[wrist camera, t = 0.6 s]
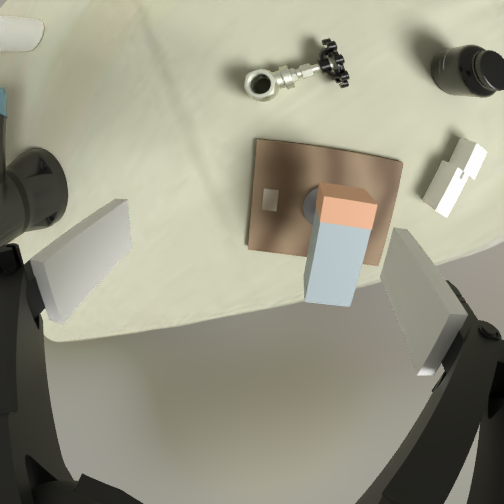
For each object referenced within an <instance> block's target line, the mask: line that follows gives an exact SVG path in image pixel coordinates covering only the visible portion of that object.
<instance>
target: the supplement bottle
mask: <svg viewBox="0 0 504 504" xmlns="http://www.w3.org/2000/svg"><path fill="white" fill-rule="evenodd" d="M431 70H432V75H433V78H434V80H435V82H436V83H437V85H438V86H439V87H440V88H441V89H442V90H443V91H445V92H446V93H448V94H451V95H458V96H471V97H489V96H491V95H493V94H494V93H495V92H496V91H501V90H504V59H503V58H502V56H501V55H499V54H498V53H496V52H494V51H490V50H485V49H483V48H482V47H480V46H477V45H466V46H461V47H456V48H452V49H448V50H444V51H441V52H439V53H437V54H436V55H435V56H434V58H433V60H432V64H431Z"/></svg>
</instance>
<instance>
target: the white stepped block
mask: <svg viewBox="0 0 504 504" xmlns="http://www.w3.org/2000/svg"><path fill="white" fill-rule="evenodd" d="M486 154H487V151H485V150H484V149H483V148H482V147H481V146H480V145H478V144H477V143H475V142H472V141H469V140H465V139H462V138H460V139H459V141H458V143H457V145H456V148H455V150H454V152H453V154H452V156H451V158H450V160H449V162H446V161H444V160H442V162H441V164H440V166H439V168H438V170H437V172H436V174H435V176H434V178H433V180H432V182H431V184H430V186H429V187H428V189H427V191H426V193H425V195H424V197H423V199H422V200H423V201H425V202H426V203H427V204H428V205H429V206H430V207H432V208H433V209H434V210H435V211H437V212H438V213H440V214H441V215H443V216H444V217H446V218H447V217H448V215H449V213H450V211H451V210H452V208H453V206H454V204H455V202H456V200H457V198H458V197H459V195H460V193H461V191H462V189H463V187H464V185H465V183H466V181H467V179H468V177H470V178H472V179H474V180H475V177H476V175H477V173H478V171H479V169H480V167H481V165H482V163H483V161H484V158H485V156H486Z"/></svg>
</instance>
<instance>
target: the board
mask: <svg viewBox="0 0 504 504" xmlns="http://www.w3.org/2000/svg"><path fill="white" fill-rule="evenodd" d="M402 168H403V163H402V162H401V161H397V160H392V159H387V158H383V157H378V156H373V155H368V154H363V153H357V152H352V151H346V150H340V149H334V148H328V147H321V146H314V145H307V144H300V143H292V142H284V141H275V140H265V139H257V145H256V157H255V169H254V181H253V193H252V205H251V217H250V229H249V242H248V250H256V251H264V252H272V253H280V254H288V255H296V256H304V257H307V256H308V250H309V244H310V239H311V233H312V227H313V221H314V215H315V209H316V199H317V193H318V186H319V182H324V183H330V184H337V185H343V186H349V187H355V188H361V189H365V190H366V191H367V192H368V193H369V195H370V196H371V197H372V198H373V200H374V201H375V202H376V203H377V210H376V214H375V219H374V223H373V227H372V230H371V232H370V236H369V240H368V244H367V248H366V252H365V256H364V260H363V263H362V264H367V265H374V266H379V262H380V259H381V255H382V252H383V248H384V245H385V241H386V237H387V234H388V230H389V226H390V222H391V218H392V214H393V210H394V206H395V201H396V197H397V192H398V188H399V183H400V178H401V173H402Z"/></svg>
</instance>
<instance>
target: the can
mask: <svg viewBox="0 0 504 504" xmlns="http://www.w3.org/2000/svg"><path fill="white" fill-rule="evenodd" d="M43 33H44V25H43V23H42V21H41V20H38V19H32V18H24V17H15V16H0V52H2V51H31V50H33V49H34V48H35V47H36V46H37V45H38V44H39V42H40V41H41V39H42V37H43Z"/></svg>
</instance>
